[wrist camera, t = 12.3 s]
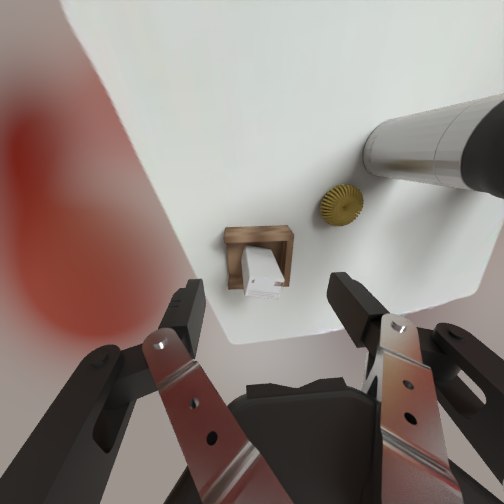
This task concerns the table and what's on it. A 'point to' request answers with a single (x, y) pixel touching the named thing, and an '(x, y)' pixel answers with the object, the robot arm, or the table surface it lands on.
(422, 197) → the table surface
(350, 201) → the sculpture
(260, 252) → the skincare box
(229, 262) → the u rest
